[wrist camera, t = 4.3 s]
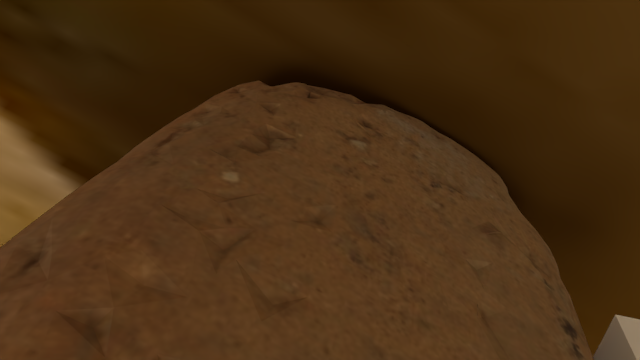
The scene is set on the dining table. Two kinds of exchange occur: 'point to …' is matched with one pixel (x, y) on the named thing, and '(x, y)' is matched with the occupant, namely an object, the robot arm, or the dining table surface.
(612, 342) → the robot arm
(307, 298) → the brown river rock
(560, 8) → the dining table surface
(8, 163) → the dining table surface
